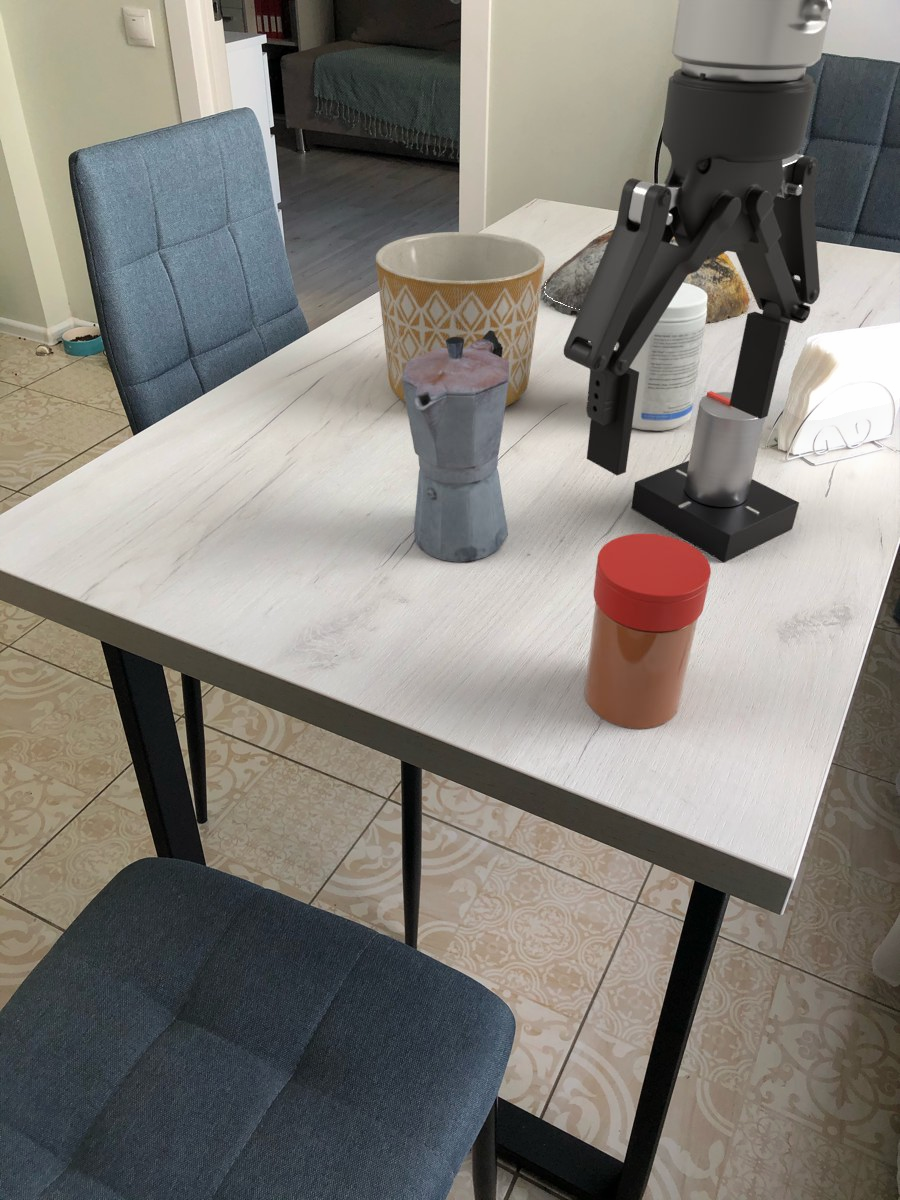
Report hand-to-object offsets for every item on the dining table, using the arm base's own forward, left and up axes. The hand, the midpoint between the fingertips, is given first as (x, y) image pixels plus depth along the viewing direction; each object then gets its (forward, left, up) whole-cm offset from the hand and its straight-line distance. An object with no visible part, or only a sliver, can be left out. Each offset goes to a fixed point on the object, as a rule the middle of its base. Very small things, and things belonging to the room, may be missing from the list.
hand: (680, 437), depth 62 cm
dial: (+12, -22, -17) cm, 31 cm away
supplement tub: (+32, -34, -21) cm, 52 cm away
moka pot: (+24, 0, -21) cm, 32 cm away
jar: (-2, +3, -20) cm, 21 cm away
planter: (+51, -20, -21) cm, 59 cm away
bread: (+63, -65, -21) cm, 94 cm away
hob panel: (+12, -22, -20) cm, 33 cm away
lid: (-2, +3, -9) cm, 9 cm away
